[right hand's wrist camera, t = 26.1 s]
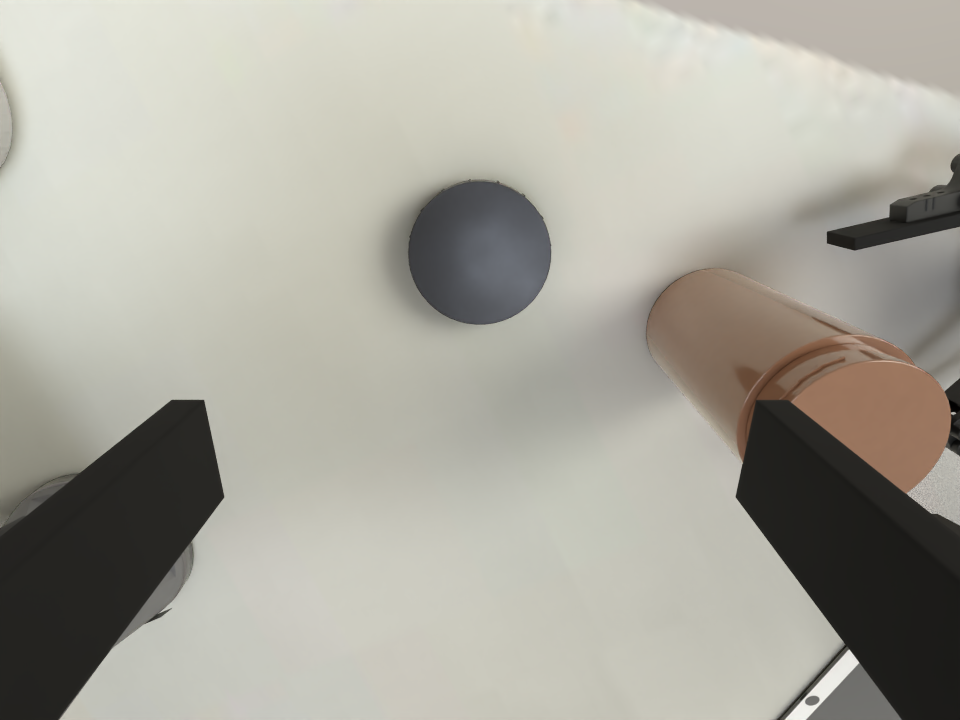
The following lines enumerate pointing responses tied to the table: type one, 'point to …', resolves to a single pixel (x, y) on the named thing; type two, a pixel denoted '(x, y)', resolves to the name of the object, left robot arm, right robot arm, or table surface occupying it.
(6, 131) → the flag stand
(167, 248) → the table surface
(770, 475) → the right robot arm
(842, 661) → the tablet
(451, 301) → the lid
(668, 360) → the jar
